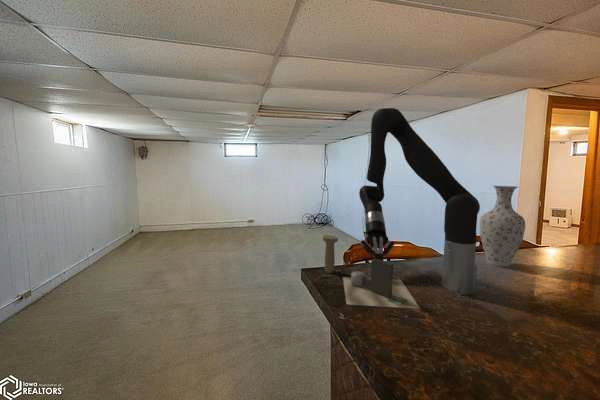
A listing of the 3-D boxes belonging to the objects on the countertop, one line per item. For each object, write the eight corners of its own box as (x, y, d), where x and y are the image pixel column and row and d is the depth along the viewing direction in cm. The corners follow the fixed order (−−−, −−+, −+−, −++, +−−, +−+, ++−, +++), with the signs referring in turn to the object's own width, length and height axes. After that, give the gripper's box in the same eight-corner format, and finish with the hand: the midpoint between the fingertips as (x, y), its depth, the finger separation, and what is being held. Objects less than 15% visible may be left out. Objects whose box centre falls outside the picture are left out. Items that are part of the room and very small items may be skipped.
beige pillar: (329, 278, 102) (330, 239, 100) (319, 272, 107) (320, 236, 106) (339, 276, 104) (340, 238, 103) (329, 270, 110) (330, 234, 108)
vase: (518, 262, 122) (526, 186, 119) (524, 273, 109) (533, 187, 105) (476, 256, 131) (482, 184, 127) (476, 266, 117) (483, 186, 114)
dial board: (400, 283, 98) (400, 279, 98) (420, 312, 77) (420, 308, 77) (342, 280, 100) (342, 276, 100) (346, 308, 80) (346, 303, 79)
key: (347, 282, 94) (348, 253, 93) (357, 279, 97) (358, 251, 96) (396, 305, 79) (398, 270, 78) (406, 300, 82) (408, 266, 81)
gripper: (359, 219, 106) (362, 259, 95) (394, 220, 104) (400, 261, 94) (357, 229, 112) (359, 268, 101) (390, 230, 110) (396, 270, 99)
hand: (379, 264), depth 97 cm, fingers closed
